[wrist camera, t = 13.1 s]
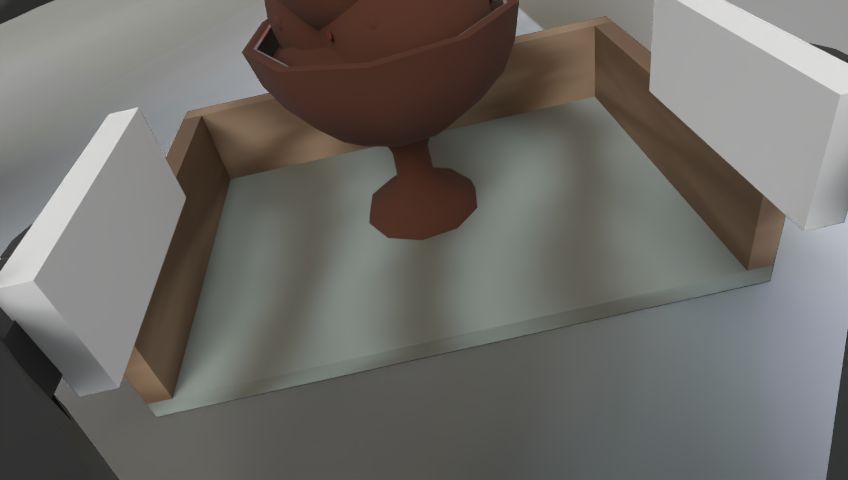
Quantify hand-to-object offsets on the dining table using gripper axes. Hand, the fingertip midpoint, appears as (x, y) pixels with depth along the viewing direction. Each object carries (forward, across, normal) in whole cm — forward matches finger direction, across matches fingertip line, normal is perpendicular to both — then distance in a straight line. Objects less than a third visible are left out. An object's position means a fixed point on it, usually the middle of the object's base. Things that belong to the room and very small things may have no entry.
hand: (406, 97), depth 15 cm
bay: (+9, 0, -11) cm, 14 cm away
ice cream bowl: (+10, 0, -10) cm, 14 cm away
